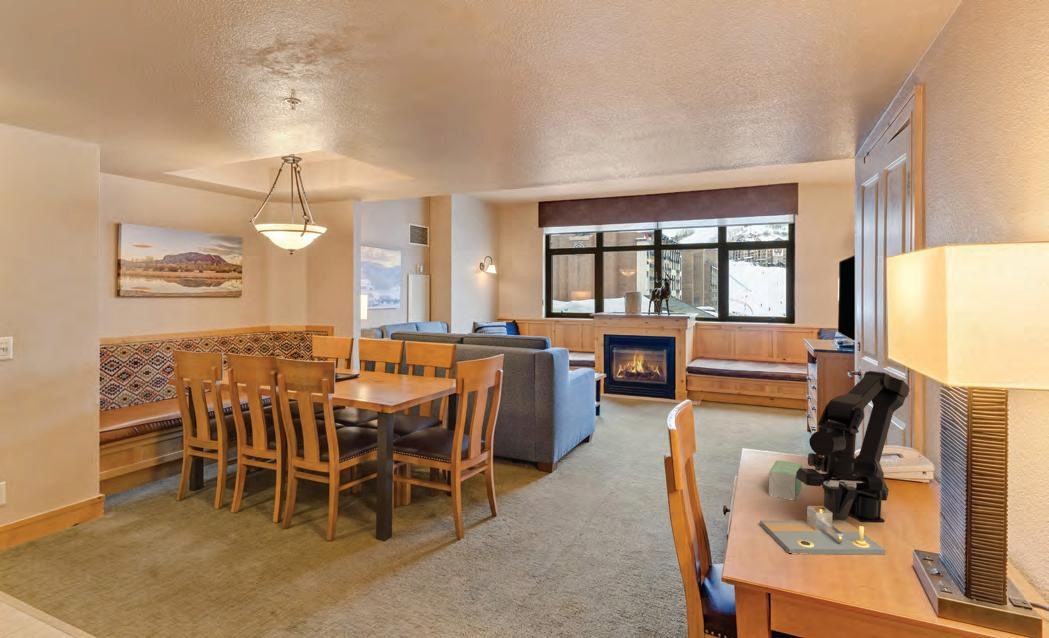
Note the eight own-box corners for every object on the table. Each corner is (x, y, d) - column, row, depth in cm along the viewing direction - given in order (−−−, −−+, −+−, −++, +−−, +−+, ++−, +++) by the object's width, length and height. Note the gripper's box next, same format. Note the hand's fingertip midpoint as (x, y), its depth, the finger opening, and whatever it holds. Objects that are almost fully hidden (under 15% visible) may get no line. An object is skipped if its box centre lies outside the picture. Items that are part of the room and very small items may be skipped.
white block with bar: (822, 523, 134) (823, 505, 134) (849, 544, 123) (850, 524, 123) (806, 523, 134) (807, 504, 134) (832, 544, 123) (833, 524, 123)
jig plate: (844, 525, 136) (845, 504, 136) (884, 554, 121) (886, 531, 121) (759, 524, 136) (760, 504, 136) (789, 554, 121) (790, 531, 121)
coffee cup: (811, 511, 144) (815, 482, 140) (831, 500, 147) (835, 471, 144) (839, 530, 137) (845, 500, 134) (859, 518, 141) (865, 488, 137)
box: (801, 486, 163) (802, 463, 162) (795, 501, 152) (796, 476, 151) (775, 482, 167) (776, 458, 166) (768, 495, 156) (768, 471, 155)
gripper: (859, 445, 140) (855, 503, 140) (788, 440, 140) (783, 498, 140) (887, 457, 128) (882, 520, 129) (809, 451, 129) (805, 515, 129)
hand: (836, 512), depth 132 cm, fingers closed
